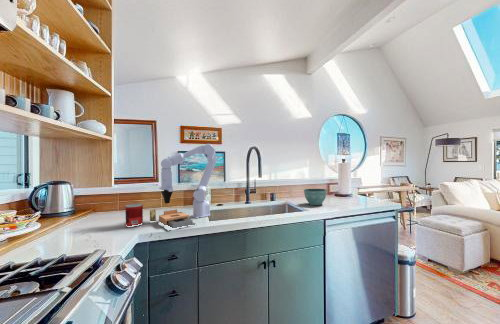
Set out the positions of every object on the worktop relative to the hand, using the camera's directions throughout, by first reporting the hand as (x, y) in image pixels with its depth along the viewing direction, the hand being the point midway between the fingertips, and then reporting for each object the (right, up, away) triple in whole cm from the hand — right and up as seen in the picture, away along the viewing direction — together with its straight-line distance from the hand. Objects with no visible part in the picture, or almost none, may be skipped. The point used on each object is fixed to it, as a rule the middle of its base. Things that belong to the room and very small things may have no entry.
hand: (167, 203), depth 122 cm
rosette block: (+9, -9, -11) cm, 17 cm away
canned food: (-13, -10, -11) cm, 20 cm away
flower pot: (+96, -8, +34) cm, 102 cm away
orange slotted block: (+7, -8, -8) cm, 13 cm away
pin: (-6, -10, -6) cm, 12 cm away
